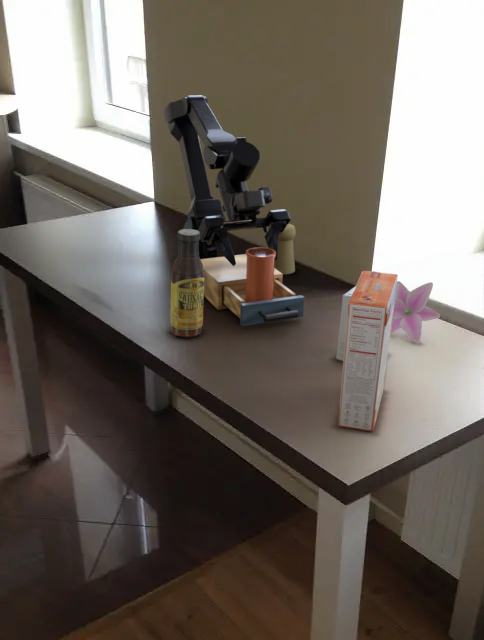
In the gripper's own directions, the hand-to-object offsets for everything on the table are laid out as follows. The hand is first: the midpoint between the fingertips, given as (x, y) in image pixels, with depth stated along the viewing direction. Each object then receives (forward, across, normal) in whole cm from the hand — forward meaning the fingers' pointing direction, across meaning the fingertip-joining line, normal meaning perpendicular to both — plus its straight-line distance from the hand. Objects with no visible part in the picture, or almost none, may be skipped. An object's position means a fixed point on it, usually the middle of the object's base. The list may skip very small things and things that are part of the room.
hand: (255, 262), depth 150 cm
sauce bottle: (+12, -17, +3) cm, 21 cm away
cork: (-7, +16, +21) cm, 27 cm away
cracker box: (+39, -1, -24) cm, 45 cm away
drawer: (+10, 0, +3) cm, 10 cm away
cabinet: (+1, 0, +14) cm, 14 cm away
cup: (+7, 0, +4) cm, 8 cm away
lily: (+22, +23, -8) cm, 33 cm away
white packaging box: (+27, +9, -12) cm, 31 cm away
